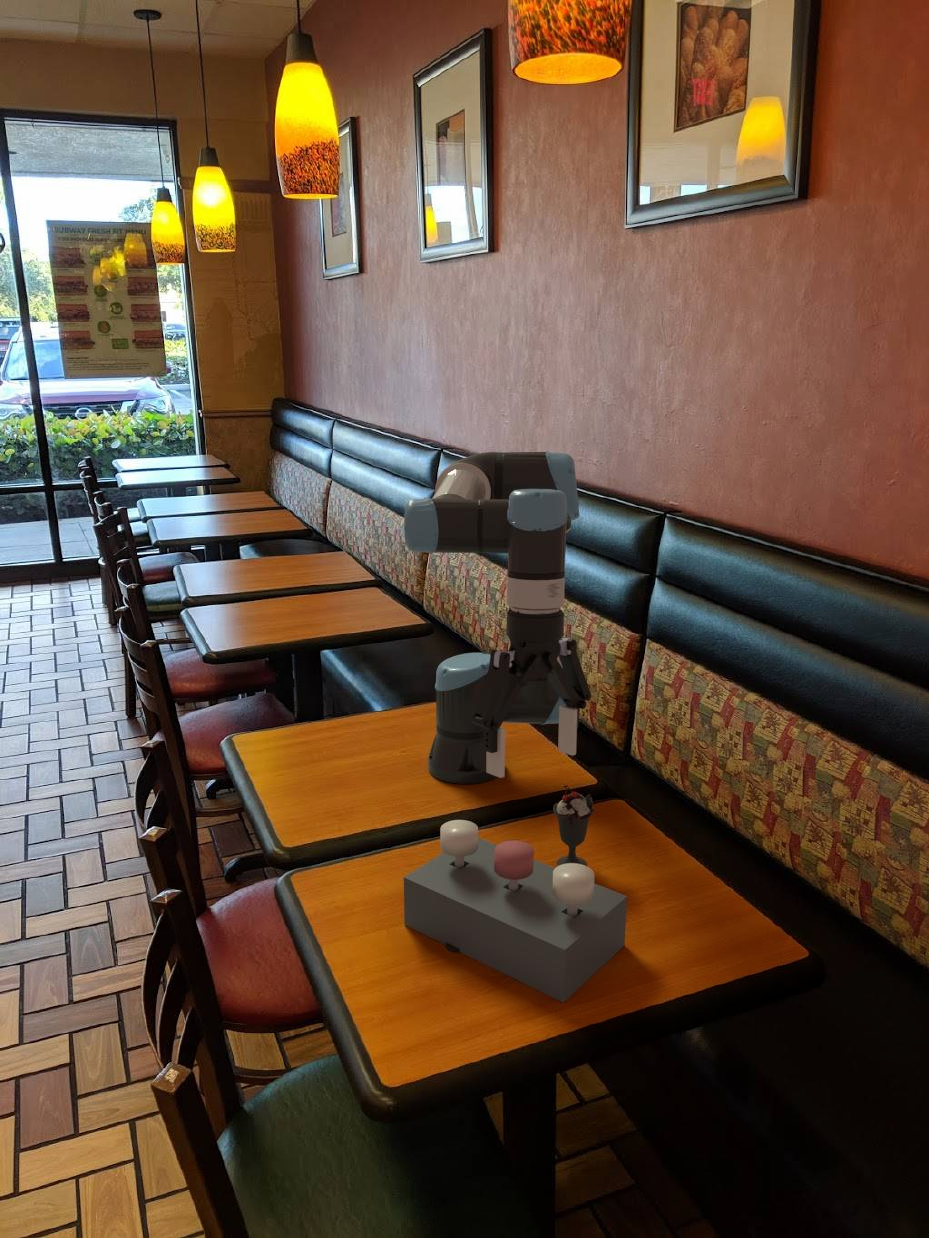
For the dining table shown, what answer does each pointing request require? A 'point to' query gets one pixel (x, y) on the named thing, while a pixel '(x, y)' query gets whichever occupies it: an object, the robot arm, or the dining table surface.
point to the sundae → (573, 823)
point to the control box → (515, 921)
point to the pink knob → (513, 861)
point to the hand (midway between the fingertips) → (532, 763)
